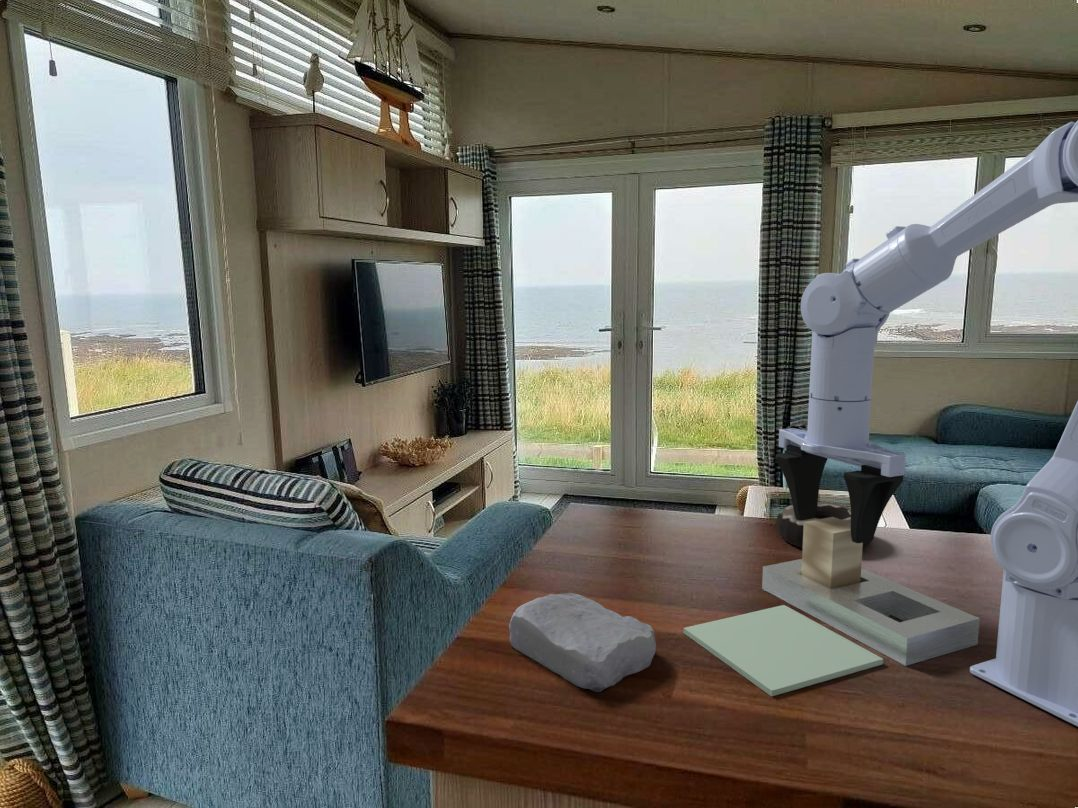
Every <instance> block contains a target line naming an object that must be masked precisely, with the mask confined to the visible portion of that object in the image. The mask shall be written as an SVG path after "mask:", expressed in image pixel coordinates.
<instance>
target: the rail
mask: <svg viewBox="0 0 1078 808" xmlns="http://www.w3.org/2000/svg"><path fill="white" fill-rule="evenodd" d="M801 572H802V558H798V559H795V560H789V561H784V562H779V563H774V564H769V565H763V566H762V579H761V580H762V581H761V582H762V583H761V589H762V590H763V591H766V592H767V593H770V594H771V595H773V596H774V597H777V598H778V599H780V600H782V601H784V602H785V603H788V604H789V605H791V606H793V607H795V608H797V609H798V610H800V611H802V612H805V613H806V614H808V615H810V616H812V617H814V618H816V619H817V620H820V621H821V622H823V623H825V624H827V625H828V626H830V627H832V628H834V629H835V630H838V631H839V632H841V633H844V634H845V635H847V636H848V637H851V638H853V639H854V640H856V641H858V642H859V643H860V642H861V643H862V644H864V645H866V646H868V647H870V648H871V649H873V650H874V651H876V652H879V653H880V654H883V655H885V656H886V657H888V658H890V659H892V660H894V661H895V662H897V663H899V664H901V665H902V666H905V667H907V666H910V665H914V664H916V663H920V662H924V661H927V660H929V659H930V660H931V659H933V658H938V657H942V656H944V655H947V654H950V653H954V652H958V651H961V650H965V649H968V648H970V647H974V646H978V643H979V633H980V622H981V621H980V619H981V618H980V617H978V616H975V615H974V614H970V613H968V612H966V611H964V610H961V609H959V608H957V607H954V606H951V605H949V604H947V603H944V602H942V601H940V600H937V599H935V598H933V597H930V596H928V595H925V594H924V593H921V592H919V591H916V590H915V589H911V588H909V587H907V586H904V585H903V584H900V583H897V582H895V581H893V580H890V579H888V578H885V577H884V576H881V575H879V574H876V573H873V572H871V571H869V570H868V569H867V570H866V569H864V568H863V567H861V582H860V583H857V584H853V585H848V586H844V587H840V588H835V589H829V588H826V587H824V586H822V585H820V584H818V583H816V582H814V581H812V580H810V579H808V578H806V577H804V576H801ZM890 616H893V617H895V618H897V619H899V620H901V621H900V622H899V621H897V620H895V619H893V618H891V617H890Z"/></svg>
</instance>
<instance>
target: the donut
mask: <svg viewBox="0 0 1078 808" xmlns="http://www.w3.org/2000/svg"><path fill="white" fill-rule="evenodd" d="M830 517H835V518H838V519H840V520H843V521H846V522H849V523H851V506H847V505H843V504H837V503H831V502H821V501H818V505H817V511H816V515H815V518H814V519H808V520H802V521H799V520H796V517H795V513H794V508H793V504H790V505H787V506H786V507H784V508H783V509H782V510H780V512H779V513H778V514H777V517H776V522H775V526H776V527H775V528H776V531H777V533H778V534H779V535H780V537H781V538H782V539H783V540H784V541H786V542H787V543H789V544H790V545H793V546H796V547H797V548H800V549H803V529H804V522H807V521H812V520H818V519H824V518H830ZM874 538H875V536H874V537H873V539H874ZM871 542H872V541H869V542H864V543H863V548H862V550H863V549H865V548H866V547H868V546H869V545H870V544H871Z"/></svg>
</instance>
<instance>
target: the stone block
mask: <svg viewBox="0 0 1078 808" xmlns="http://www.w3.org/2000/svg"><path fill="white" fill-rule="evenodd" d="M508 628H509V629H508V630H509V643H510V644H511V646H512V648H514V650H516V651H518V652H520V653H522V654H523V655H524V656H525V657H528V658H529V659H531V660H532V661H535V662H536V663H538V664H539V665H541V666H543V667H544V668H546V669H548V670H549V671H551V672H552V673H554V674H557V675H559V676H560V677H562V678H563V679H564V680H565V681H567V682H569V683H571V684H572V685H574V686H576V687H577V688H581V689H587V690H591V691H592V692H595V693H601V692H602V691H604V690H605V689H608V688H609V687H613V686H615V685H616V684H618V683H619V682H620V681H621V680H622V679H623V678H625V677H627V676H629V675H633V674H636V673H638V672H641V671H643V670H645V669H648V668H649V667H650V666H651V665H652V664H651V663H652V661H653V659H654V656H655V653H656V651H657V643H656V637H655V632H654V629H653V627H652V626H651V625H649V624H648V623H643V622H642V621H641V620H639V619H637V618H635V617H633V616H628V615H625V616H622V615H621V614H619V613H618V612H615V611H613V610H611V609H607V608H605V607H604V606H603V605H602V604H600V603H599V602H597V601H595V600H593V599H589V598H588V597H585V596H583V595H582V594H578V593H573V592H567V593H566V592H565V593H558V594H555V593H554V594H553V593H550V594H548V595H545V596H540V597H536V598H535V599H533V600H530V601H528V602H526V603H523V604H521V605H520V606H518V607H517V608H516V609H515V611H513V614H512V616H511V619H510V621H509V624H508Z"/></svg>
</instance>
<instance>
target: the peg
mask: <svg viewBox="0 0 1078 808" xmlns="http://www.w3.org/2000/svg"><path fill="white" fill-rule="evenodd" d="M862 548H863V543H855V542H852V538H851V523H849V522H846V521H843V520H840V519H838V518H835V517H830V518H824V519H818V520H812V521H807V522H804V529H803V548H802V550H801V551H802V552H801V555H802V556H801V557H802V558H801V559H802V572H801V576H804V577H806V578H808V579H810V580H812V581H814V582H816V583H818V584H820V585H822V586H824V587H826V588H829V589H835V588H840V587H844V586H848V585H853V584H857V583H860V582H861V568H862V564H863V563H862V561H863V549H864V548H863V549H862Z"/></svg>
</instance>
